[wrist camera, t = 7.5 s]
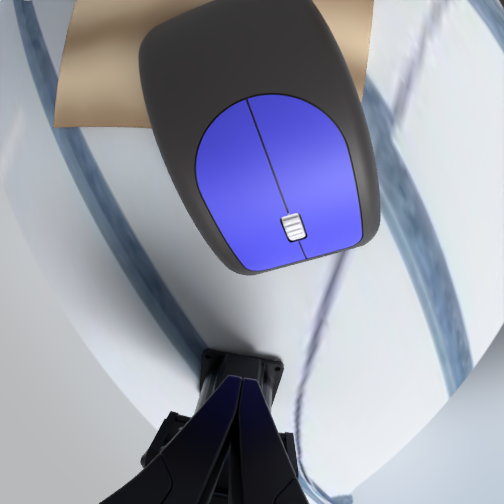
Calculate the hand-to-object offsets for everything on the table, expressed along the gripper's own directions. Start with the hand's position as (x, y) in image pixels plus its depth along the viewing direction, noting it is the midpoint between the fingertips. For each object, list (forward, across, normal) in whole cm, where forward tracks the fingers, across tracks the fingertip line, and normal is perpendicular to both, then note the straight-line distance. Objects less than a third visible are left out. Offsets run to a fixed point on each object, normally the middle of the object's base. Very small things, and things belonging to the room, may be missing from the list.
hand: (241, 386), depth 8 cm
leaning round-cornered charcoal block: (+11, +5, -4) cm, 13 cm away
